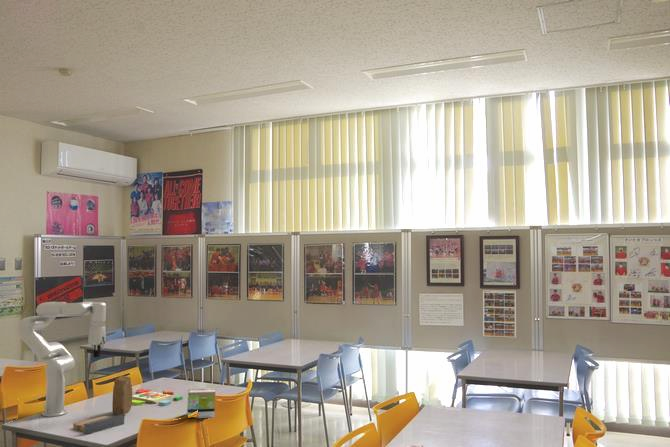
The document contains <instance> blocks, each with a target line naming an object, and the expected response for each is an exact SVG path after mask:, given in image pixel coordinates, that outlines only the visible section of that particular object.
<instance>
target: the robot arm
mask: <svg viewBox="0 0 670 447" xmlns="http://www.w3.org/2000/svg"><path fill="white" fill-rule="evenodd" d="M35 312H36V315H34V316H33V315H32V316H28V317H24V318H22V319H21V320H20V321H19V322H18V325H17V334H18V336H19V338H20V339H21V341H23V342H24V343H25V345H27V346H28V348H30V350H31V351H32V352H33V354H35V356H36V357H37V358H38V359H39V360H40V361H42V362H44V361H47V363H46V364H45V376H46V389H45V393H46V394H45V405H44V406H43V409H44V411H43V412H42V413H41V415H42V416H43V417H47V418H49V417H59V416H63V415H65V414H67V413H68V410H67V409H65V395H66V394H65V393H66V379H65V375H64V373H66V372H70V371H71V370H73V369H74V368H75V364H76V360H75V359H74V357H73V355H72V354H71V353H70V352H69V351H68V350H67V348H65V346H64V345H63V344H62V343H60V342H58V341H51V342H48V341H47V340H46V339H45V338H44V337H43V336H42V335H41V334H39V333H38V332H36V331H40V330H41V331H42V330H44V329H46V328H47V327H48V326H49V325H50V324H51V323H52V322H53V321H54V320H56V318H57V317H58V318H60V317H62V318H63V317H64V318H65V317H66V318H67V317H83V316H89V315H90V316H91V317H90V326H89V331H88V338H87V339H88V340H87V344H89V345H90V346H91V347H92V350H93V358H99V357H101V350H102V348H104V347H105V344H106V339H107V334H106V333H107V331H106V318H107V316H106V312H107V304H106V303H105V302H103V301H100V302H99V301H97V302H96V301H82V302H68V303H67V302H66V301H47V302H46V301H45V302H42V303H40V304H38V305H37V307H36V309H35Z"/></svg>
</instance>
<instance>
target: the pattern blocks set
mask: <svg viewBox="0 0 670 447" xmlns="http://www.w3.org/2000/svg"><path fill="white" fill-rule="evenodd" d="M163 393H164V394H163ZM174 394H175V393H174V391H173V390H162V392H156V391H153V390H151V389H147V388H146V389H144V388H138V389H136V394H132V406H137V405H138V406H143V404H144V405H146V403H150V402H151V404H158V406H163V407H167V406H170V405H171V403H172V401H173V402H174V401H176V402H178V401H182V400H183V399H184V397H183V395H178V396H175V397H174V396H173V395H174ZM171 399H172V401H171Z"/></svg>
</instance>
